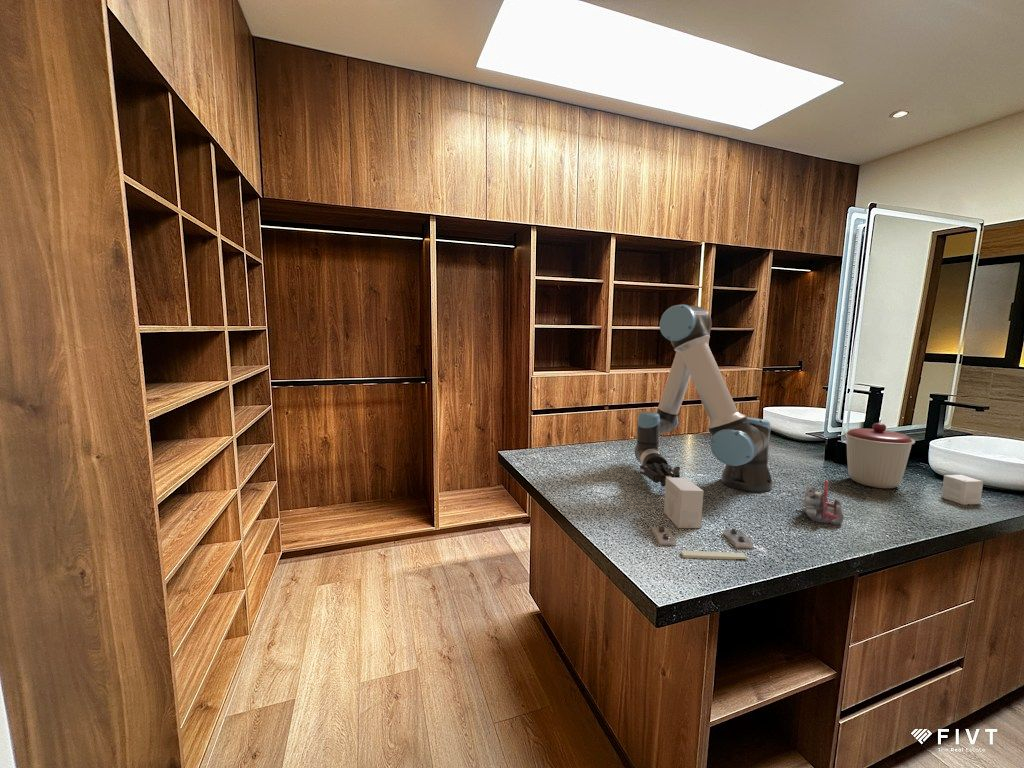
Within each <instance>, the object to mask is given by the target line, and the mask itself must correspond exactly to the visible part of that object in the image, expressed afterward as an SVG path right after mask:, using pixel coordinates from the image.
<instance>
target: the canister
mask: <svg viewBox="0 0 1024 768" xmlns="http://www.w3.org/2000/svg"><path fill="white" fill-rule="evenodd" d="M843 434H844V436H846V461H847V463H846V464H847V471H848V472H847V473H848V476H849V478H850V479H851V480H853V482H855V483H858V484H861V485H863V486H866V487H867V486H868V487H870V488H871V487H872V488H877V489H894V488H897V487H899V485H900V484H901V482H902V480H903V478H904V475H905V472H906V468H907V463H908V460H909V457H910V453H911V449H912V446H913V445H914V444H915V443H916V441H915V439H914V438H911V437H910V436H909V435H906V434H904V433H900V432H896V431H891V430H888V429H887V426H886V424H885V423H881V422H874V423H873V424H872V428H865V427H864V428H860V427H859V428H853V429H849V430H848V431H844V433H843Z"/></svg>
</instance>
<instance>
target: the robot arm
mask: <svg viewBox="0 0 1024 768" xmlns="http://www.w3.org/2000/svg"><path fill="white" fill-rule="evenodd" d="M712 321H713V320H712V317H711V315H710V313H709V312H708V311H707V310H706V309H705V308H703V307H701V306H698V305H688V304H685V303H683V304H676V305H672V306H670V307H668V308H667V309H666V310H665V311H664V312H663V314H662V315H661V318H660V321H659V331H660V333H661V335H662V336H663V337H664V338H665V339H667V340H668V341H670V344H671V346H672V347H673V350H674V352H675V355H674V358H673V362H672V364H671V368H670V371H669V373H668V377H667V379H666V382H665V385H664V388H663V392H662V393H661V394H662V395H661V398H660V400H659V403H658V406H657V409H656V411H640V412H639V413H638V416H637V424H636V425H637V431H636V433H637V434H636V436H637V437H636V445H635V447H634V451H633V453H634V456H635V458H636V460H637V461H638V462H639V463H640V464H641V465H639V474H641V475H643V476H645V477H646V478H648V479H649V480H651V481H652V482H653V483H655V484H659V483H660V487H665V485H666V477H671V478H681V477H680V476H681V475H680V474H681V467H680V466H678V465H677V466H675V467H674V466H673V467H672V465H670V464H669V462H668V460H667V459H666V458H665V456H663V455H662V454H661V452H659V445H660V436H661V435H664V434H667V433H669V432H672V431H673V430H675V429H676V428H677V427H678V426H679V418H678V414H679V412H680V409H681V406H682V404H683V401H684V397H685V395H686V392H687V389H688V387H689V384H690V382H691V381H690V380H692V382H693V384H694V387H695V389H696V391H697V393H698V396H699V399H700V401H701V403H702V406H703V408H704V410H705V413H706V414H707V416H708V417H707V418H708V419H709V424H708V426H707V430H708V432H709V435H710V438H711V439H710V443H709V444H710V445H709V447H710V450H711V453H712V455H713V456H714V457H715V458H716V460H717V461H718V462H720V463H722V464H723V465H724V464H725V466H724V469H723V470H722V473H721V478H720V479H721V482H722V483H723V484H724V485H726V486H728V487H730V488H733V489H737V490H739V491H745V492H752V493H753V492H754V493H764V492H769V491H771V490H772V489H773V479H772V476H771V473H770V469H769V466H768V465H769V464H768V462H769V451H770V450H769V449H770V436H771V432H772V431H771V430H772V428H771V422H770V421H769V420H767V419H762V418H758V417H757V418H755V417H748V416H746V415H745V414H743V413H740V412H739V411H738V409H737V407H736V404H735V401H734V400H733V397H732V395H731V393H730V391H729V389H728V386H727V384H726V381H725V379H724V378H723V377H724V376H723V375H722V373H721V371H720V370H721V369H720V368H719V366H718V363H717V361H716V360H715V356H714V355H713V353H712V351H711V348H710V346H709V344H708V343H709V340H710V338H711V336H710V334H711V331H712V330H711V329H712V324H713V323H712Z"/></svg>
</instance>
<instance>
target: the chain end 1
mask: <svg viewBox="0 0 1024 768" xmlns="http://www.w3.org/2000/svg"><path fill="white" fill-rule="evenodd" d="M651 533H652V535H653V536H654V539H655V540H656V542H657V543H658V545H659V546H677V540H676V538H675V537H674V535H673V533H672V532H671V530H670V528H669V527H664V526H657V527H655V526H652V527H651Z"/></svg>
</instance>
